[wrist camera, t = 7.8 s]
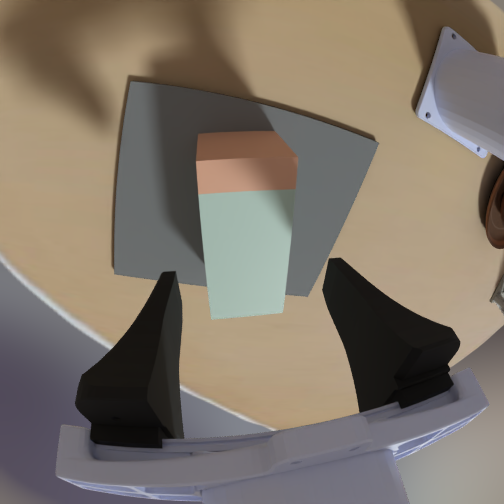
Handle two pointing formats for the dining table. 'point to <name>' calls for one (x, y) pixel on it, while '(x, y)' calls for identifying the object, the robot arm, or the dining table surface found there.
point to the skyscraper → (499, 296)
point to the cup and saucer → (496, 214)
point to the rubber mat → (186, 187)
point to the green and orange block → (246, 219)
